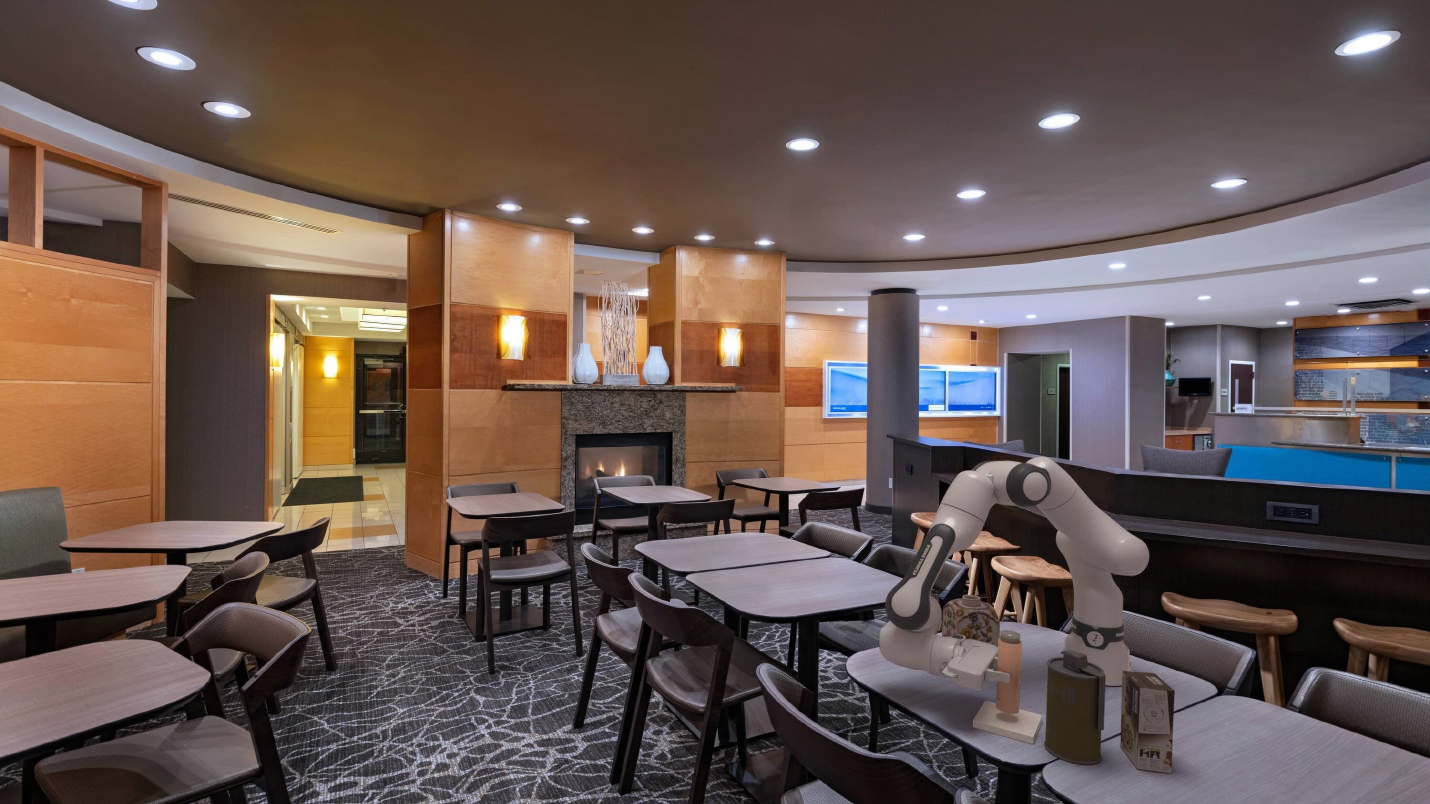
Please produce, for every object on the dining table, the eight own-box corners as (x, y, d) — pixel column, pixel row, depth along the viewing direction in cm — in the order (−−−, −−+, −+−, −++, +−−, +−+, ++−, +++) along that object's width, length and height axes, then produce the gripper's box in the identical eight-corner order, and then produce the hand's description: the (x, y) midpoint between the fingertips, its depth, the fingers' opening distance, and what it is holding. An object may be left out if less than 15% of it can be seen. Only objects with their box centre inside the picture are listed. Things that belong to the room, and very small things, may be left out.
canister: (1033, 745, 141) (1036, 649, 141) (1064, 733, 146) (1067, 641, 146) (1083, 771, 132) (1087, 668, 132) (1115, 758, 137) (1118, 659, 137)
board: (985, 706, 158) (985, 700, 158) (1042, 721, 152) (1042, 714, 152) (972, 727, 148) (972, 720, 148) (1032, 744, 142) (1033, 736, 142)
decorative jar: (999, 672, 178) (1001, 604, 178) (954, 671, 179) (957, 602, 178) (982, 655, 190) (984, 590, 190) (940, 653, 191) (942, 589, 190)
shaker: (998, 701, 153) (1001, 627, 153) (1021, 707, 151) (1024, 632, 150) (993, 709, 149) (996, 633, 149) (1017, 715, 147) (1020, 638, 146)
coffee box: (1173, 774, 132) (1176, 691, 131) (1136, 769, 133) (1139, 687, 133) (1153, 750, 141) (1155, 672, 140) (1118, 746, 142) (1121, 668, 142)
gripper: (936, 658, 148) (1004, 674, 141) (960, 632, 165) (1022, 645, 158) (935, 687, 149) (1003, 704, 141) (959, 658, 166) (1021, 672, 158)
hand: (1013, 673), depth 149 cm, fingers closed on shaker, 5 cm apart
